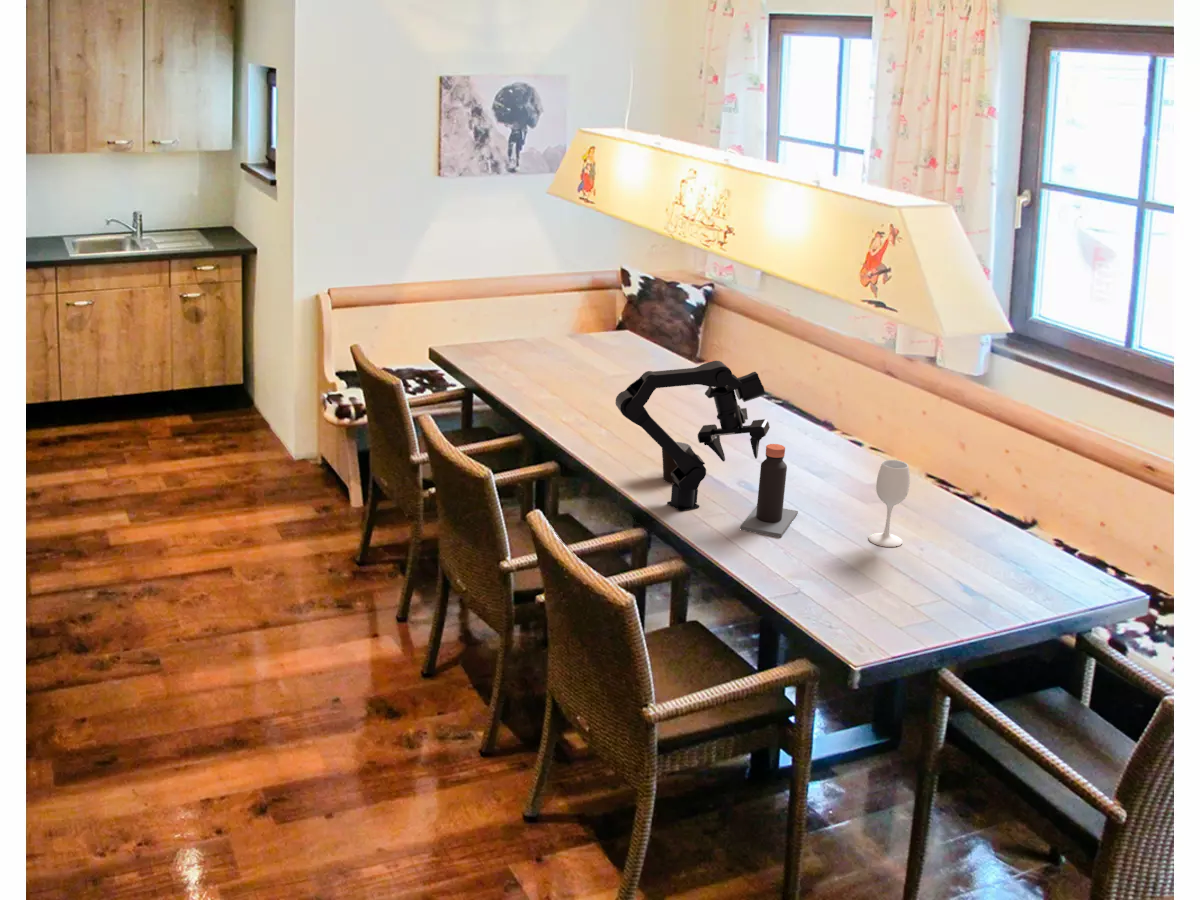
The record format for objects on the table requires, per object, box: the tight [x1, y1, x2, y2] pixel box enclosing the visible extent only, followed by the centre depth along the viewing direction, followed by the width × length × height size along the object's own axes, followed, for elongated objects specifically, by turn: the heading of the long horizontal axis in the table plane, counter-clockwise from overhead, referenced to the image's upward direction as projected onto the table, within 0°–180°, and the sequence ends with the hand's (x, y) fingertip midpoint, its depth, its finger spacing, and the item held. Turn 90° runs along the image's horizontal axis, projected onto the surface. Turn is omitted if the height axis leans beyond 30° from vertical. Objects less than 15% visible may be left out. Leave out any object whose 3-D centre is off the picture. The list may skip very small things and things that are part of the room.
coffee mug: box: [661, 441, 693, 484], centre depth 370 cm, size 12×9×10 cm
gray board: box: [739, 505, 799, 538], centre depth 343 cm, size 11×18×1 cm, turn 159°
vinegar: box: [756, 443, 788, 523], centre depth 340 cm, size 7×7×20 cm
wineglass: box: [868, 459, 911, 548], centre depth 332 cm, size 9×9×21 cm
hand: (740, 459), depth 350 cm, fingers open, 9 cm apart
